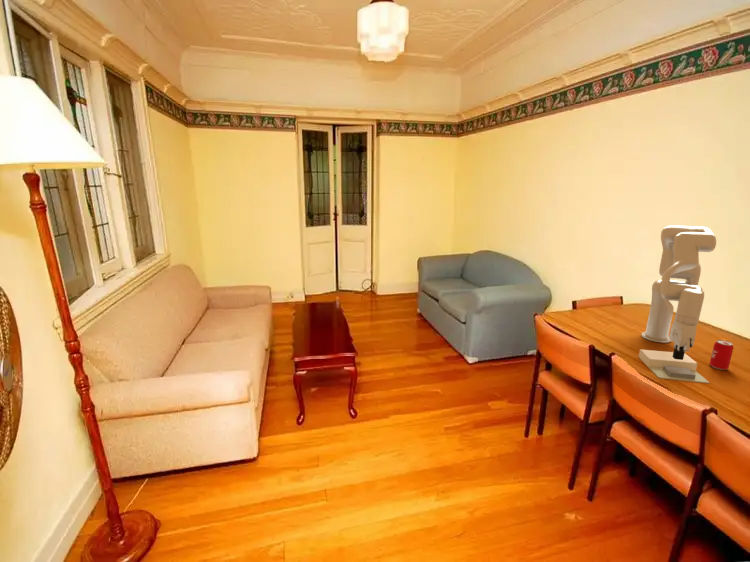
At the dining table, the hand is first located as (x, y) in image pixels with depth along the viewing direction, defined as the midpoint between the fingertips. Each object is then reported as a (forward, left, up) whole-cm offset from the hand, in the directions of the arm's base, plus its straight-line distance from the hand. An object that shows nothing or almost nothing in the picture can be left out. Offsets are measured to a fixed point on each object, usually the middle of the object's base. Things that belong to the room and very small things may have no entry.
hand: (677, 358), depth 159 cm
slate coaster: (+3, 0, -4) cm, 5 cm away
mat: (+3, 0, -6) cm, 7 cm away
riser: (-7, 0, -6) cm, 10 cm away
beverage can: (-9, +21, -7) cm, 24 cm away
